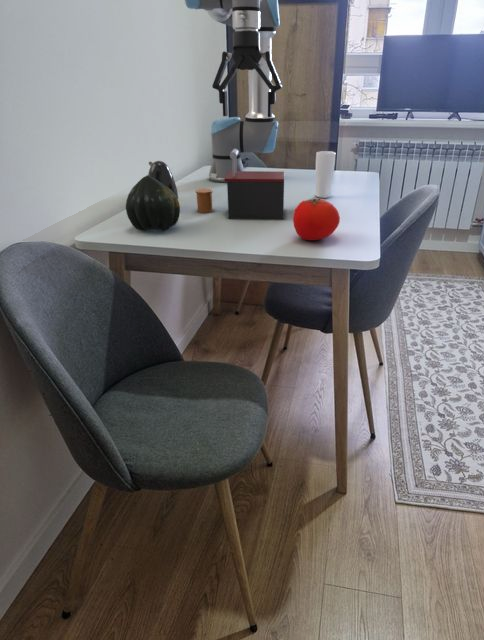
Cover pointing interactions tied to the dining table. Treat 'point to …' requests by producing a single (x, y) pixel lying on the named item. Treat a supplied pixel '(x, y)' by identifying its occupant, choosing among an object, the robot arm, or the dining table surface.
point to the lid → (251, 173)
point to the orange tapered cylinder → (204, 200)
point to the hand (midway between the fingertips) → (247, 116)
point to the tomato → (315, 219)
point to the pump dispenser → (162, 175)
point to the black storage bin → (255, 200)
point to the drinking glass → (324, 173)
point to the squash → (152, 205)
